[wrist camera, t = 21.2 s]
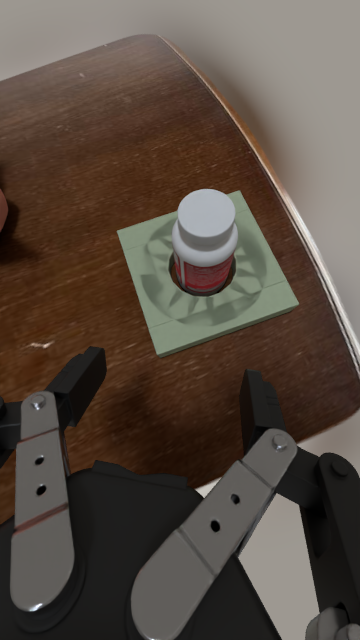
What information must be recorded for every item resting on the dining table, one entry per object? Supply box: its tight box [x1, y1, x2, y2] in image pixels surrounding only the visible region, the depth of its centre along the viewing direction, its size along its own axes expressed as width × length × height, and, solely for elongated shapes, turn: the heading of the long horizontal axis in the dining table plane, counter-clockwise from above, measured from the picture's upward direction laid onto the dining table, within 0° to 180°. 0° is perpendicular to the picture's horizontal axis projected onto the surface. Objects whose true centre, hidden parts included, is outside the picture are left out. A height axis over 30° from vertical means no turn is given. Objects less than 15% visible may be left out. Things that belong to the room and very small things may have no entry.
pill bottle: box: [171, 189, 238, 296], centre depth 25 cm, size 6×6×11 cm
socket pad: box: [117, 191, 299, 358], centre depth 29 cm, size 16×16×2 cm
